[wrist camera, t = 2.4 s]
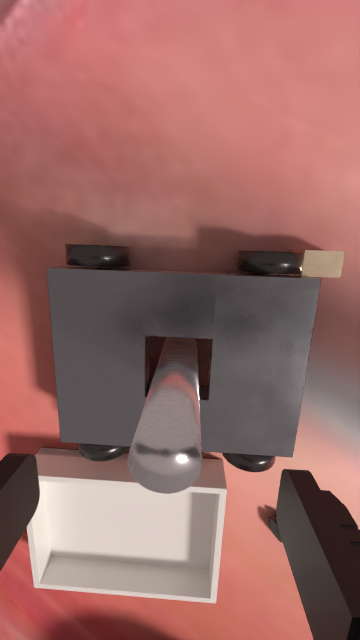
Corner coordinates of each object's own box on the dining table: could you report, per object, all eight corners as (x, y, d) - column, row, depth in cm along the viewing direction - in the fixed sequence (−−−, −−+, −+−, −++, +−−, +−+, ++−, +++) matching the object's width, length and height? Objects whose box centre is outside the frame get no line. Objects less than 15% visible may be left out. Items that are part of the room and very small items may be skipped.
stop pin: (198, 332, 21) (204, 433, 9) (196, 363, 21) (199, 496, 10) (164, 330, 21) (127, 428, 9) (163, 362, 21) (128, 490, 10)
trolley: (326, 251, 19) (360, 251, 15) (296, 437, 23) (317, 476, 19) (73, 242, 20) (44, 239, 16) (84, 424, 23) (62, 458, 19)
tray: (222, 459, 23) (226, 489, 20) (213, 564, 26) (216, 603, 23) (40, 447, 24) (19, 474, 21) (51, 551, 27) (34, 587, 24)
